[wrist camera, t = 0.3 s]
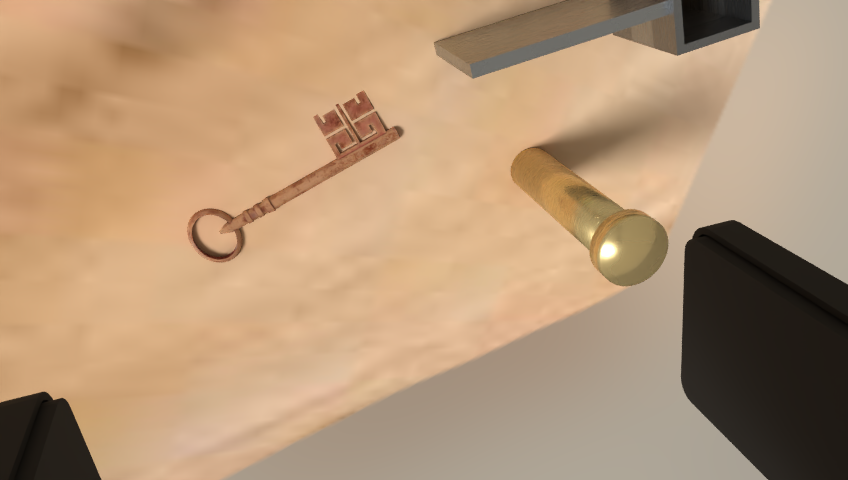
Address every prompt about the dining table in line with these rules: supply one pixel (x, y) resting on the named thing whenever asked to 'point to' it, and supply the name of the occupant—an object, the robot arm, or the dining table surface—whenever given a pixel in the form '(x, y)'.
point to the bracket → (598, 30)
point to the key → (317, 177)
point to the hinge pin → (593, 219)
